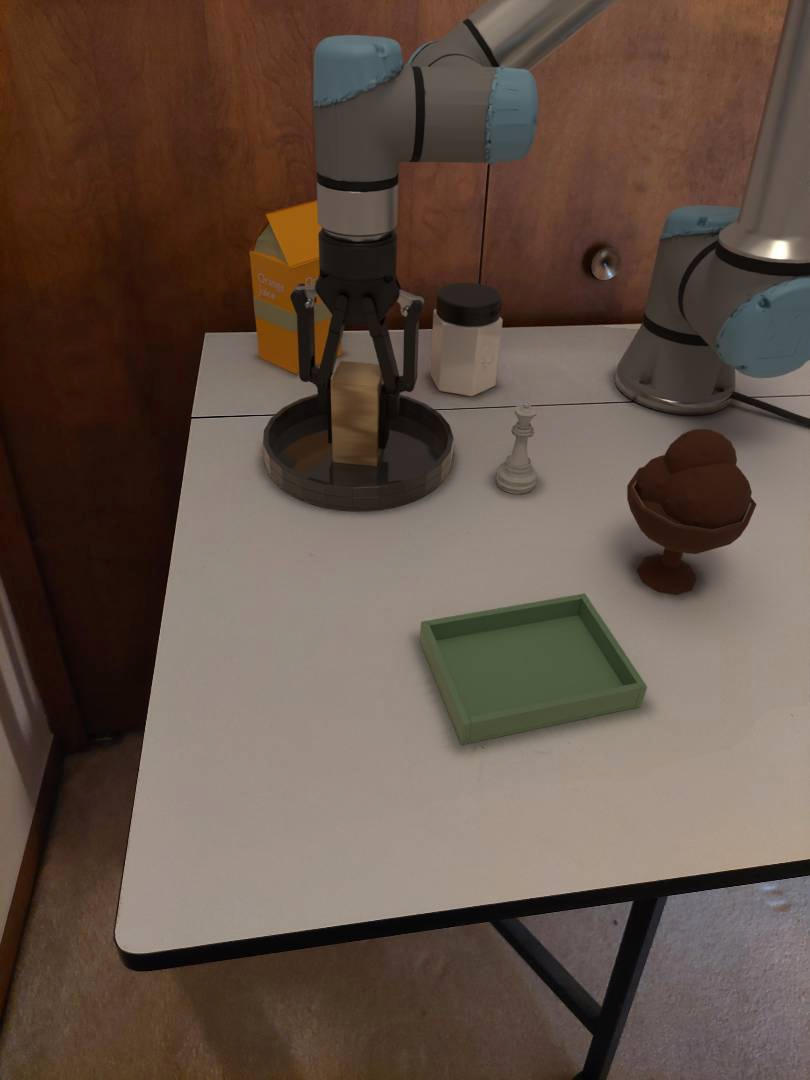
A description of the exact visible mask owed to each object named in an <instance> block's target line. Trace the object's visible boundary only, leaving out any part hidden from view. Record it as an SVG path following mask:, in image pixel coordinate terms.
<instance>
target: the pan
mask: <svg viewBox="0 0 810 1080" xmlns="http://www.w3.org/2000/svg"><path fill="white" fill-rule="evenodd" d="M262 434H263V436H262V437H263V438H262V447H263V448H262V449H263V458H264V464H265V468H266V471H267V473H268V475H269V477H270V478H271V480H272V481H273V482H274V484H276V486H278V488H280V490H282V491H284V493H287V494H289V495H290V496H291V497H293V498H295V499H297V500H299V501H302V502H304V503H307V504H310V505H312V506H313V505H314V506H317V507H321V508H325V509H330V510H335V511H336V510H337V511H347V512H348V511H349V512H370V511H381V510H386V509H387V510H388V509H393V508H396V507H401V506H404V505H407V504H410V503H412V502H415V501H418V500H420V499H422V498H424V497H425V496H428V495H429V494H430V493H433V491H435V490H436V489H437V488H438V487H440V486H441V485H442V483H443V482H444V481H446V478H447V477H448V475H449V473H450V470H451V467H452V460H453V451H454V439H455V438H454V435H453V431H452V427H451V425H450V424H449V422H448V421H447V420H446V418H445V417H444V416H443V415H442V414H441V412H439V411H437V410H436V409H434V408H433V407H432V406H430V405H429V404H427V403H425V402H422V401H420V400H417V399H415V398H412V397H411V396H407V395H403V394H400V398H399V412H398V416H397V418H396V420H389V438H388V442H387V445H386V448H385V449H382V452H381V455H380V458H379V461H378V464H377V467H375V466H366V465H356V464H347V463H338V462H333V449H332V443H328V421H327V414H325V413H320V412H319V409H318V393H316V394H312V395H309V396H305V397H303V398H299V399H297V400H295V401H293V402H291V403H290V404H287V405H286V406H284V407H282V408H280V409H279V411H277V412H276V413H275V414H274V415H273V416H271V417H270V419H269V420H268V423H267V424H266V426H265V427H264V429H263V433H262Z"/></svg>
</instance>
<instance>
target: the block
mask: <svg viewBox="0 0 810 1080" xmlns="http://www.w3.org/2000/svg"><path fill="white" fill-rule="evenodd" d="M383 385H384V382H383V378H382V374H381V370H380V366H379V363H371V362H370V363H369V362H357V361H347V360H339V363H338V365H337V367H336V369H335V371H334V372H333V374H332V377H331V415H332V449H333V462H338V463H347V464H356V465H366V466H375V467H377V464H378V461H379V458H380V455H381V452H382V449H379V396H380V393H381V390H382V387H383Z"/></svg>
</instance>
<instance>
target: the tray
mask: <svg viewBox="0 0 810 1080" xmlns="http://www.w3.org/2000/svg"><path fill="white" fill-rule="evenodd" d="M419 643H420V646H421V648H422V650H423V654H424V656H425V659H426V660H427V663H428V665H429V668H430V670H431V673H432V675H433V678H434V680H435V682H436V683H435V684H436V685H437V688H438V690H439V693H440V695H441V698H442V700H443V702H444V703H443V704H444V705H445V708H446V710H447V713H448V715H449V718H450V721H451V723H452V726H453V727H454V730H455V733H456V735H457V738H458V740H459V742H460V745H463V746H464V745H467V744H471V743H476V742H481V741H487V740H491V739H496V738H499V737H504V736H505V737H506V736H509V735H514V734H519V733H523V732H524V733H525V732H528V731H533V730H537V729H542V728H546V727H547V728H548V727H552V726H557V725H561V724H565V723H571V722H576V721H580V720H585V719H589V718H593V717H599V716H603V715H608V714H613V713H617V712H622V711H627V710H631V709H637V708H641V707H642V704H643V701H644V697H645V694H646V692H647V689H648V686H647V684H646V682H645V681H644V680H643V678H642V677H641V675H640V674H639V671H638V670H637V669H636V667H635V666H634V664H633V663H632V662H631V660H630V658H629V657H628V656H627V654H626V653H625V651H624V650H623V648H622V647H621V646H620V643H619V642H618V640H617V639H616V638H615V636H614V635H613V633H612V631H611V630H610V629H609V627H608V625H607V624H606V623H605V621H604V620H603V618H602V617H601V615H600V614H599V612H598V611H597V609H596V608H595V606H594V605H593V603H592V602H591V600H590V599H589V598H588V595H587V594H586V593H585V592H584V593H580V594H573V595H567V596H562V597H561V596H560V597H556V598H550V599H545V600H539V601H538V600H537V601H532V602H528V603H527V602H526V603H521V604H515V605H510V606H505V607H504V606H503V607H498V608H492V609H487V610H480V611H475V612H469V613H463V614H457V615H452V616H446V617H440V618H434V619H429V620H423V621H422V620H421V621H420V634H419Z"/></svg>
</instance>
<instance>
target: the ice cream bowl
mask: <svg viewBox="0 0 810 1080" xmlns="http://www.w3.org/2000/svg"><path fill="white" fill-rule="evenodd" d="M737 463H738V457H737V451H736V449H735V447H734V445H733V443H732V441H730V440H729V439H728V438H727V437H726V436H725V435H723V434H722V433H719V432H718V431H715V430H713V429H710V428H695V429H691V430H688V431H685V432H684V433H681V434H680V435H679V436H678V437H677V438H676V439H675V440H674V441H673V442H671V443H670V444H669V446H668V447H667V449H666V451H665V453H664V454H663V455H659V456H656V457H654V458H651V459H650V460H649V461H648V462H647V463H646V464H645V465H644V466H642V467H639V468H637V470H636V472H635V473H634V475H633V476H632V477H631V479H630V481H629V482H628V484H627V486H626V499H627V503H628V506H629V510H630V512H631V514H632V517H633V518H634V520H635V522H636V523H637V526H638V528H639V530H640V531H641V532H642V534H644V536H646V538H647V539H649V540H651V541H652V542H654V543H656V544H658V545H659V546H661V547H663V548H664V550H663V553H656V554H651V555H648V556H645V557H644V558H643V559H642V561H641V563H639V566H638V567H637V569H636V572H637V574H638V576H639V577H640V580H641V582H642V583H643V584H645V585H646V586H648V587H649V588H651V589H653V590H654V591H656V592H657V593H665V594H670V595H676V596H677V595H681V594H684V593H687V592H690V591H692V590H693V588H694V586H695V584H696V582H697V575H696V573H695V571H694V569H693V567H692V566H691V564H690V563H688V562H686V561H684V560H683V556H684V555H683V554H688V555H699V554H702V553H705V552H708V551H712V550H715V549H719V548H723V547H725V546H729V545H732V544H733V543H734V542H735V541H737V540H738V539H739V538H740V537H741V536H742V534H743V533H744V531H745V530H746V529H747V527H748V526H749V523H750V521H751V520H752V516H753V514H754V512H755V510H756V507H757V505H758V504H757V503H756V502H755V500H754V499H753V497H752V494H753V492H752V487H751V484H750V481H749V480H748V478H747V477H746V476H745V474H744V472H743V471H742V470H741V468H739V466H737Z"/></svg>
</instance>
